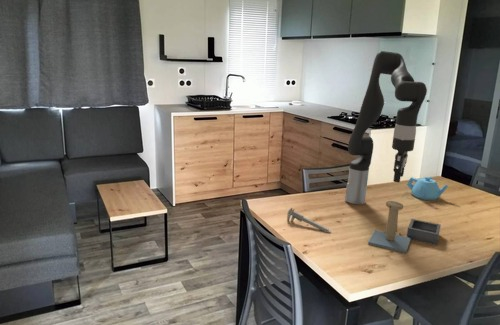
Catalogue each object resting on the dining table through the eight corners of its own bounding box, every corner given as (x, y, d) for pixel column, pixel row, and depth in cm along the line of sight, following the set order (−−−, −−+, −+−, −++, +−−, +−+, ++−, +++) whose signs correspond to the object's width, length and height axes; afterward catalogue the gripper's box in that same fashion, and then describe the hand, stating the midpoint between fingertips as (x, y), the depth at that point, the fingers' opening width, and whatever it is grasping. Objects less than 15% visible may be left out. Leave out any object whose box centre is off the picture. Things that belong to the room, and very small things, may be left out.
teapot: (429, 191, 224) (432, 172, 221) (447, 201, 210) (450, 181, 207) (404, 192, 221) (407, 173, 219) (420, 201, 207) (423, 181, 204)
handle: (392, 244, 156) (397, 207, 152) (379, 237, 161) (383, 202, 157) (400, 241, 159) (405, 205, 155) (387, 235, 164) (391, 200, 160)
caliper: (286, 221, 177) (287, 207, 176) (288, 220, 178) (289, 206, 176) (330, 233, 166) (331, 219, 164) (331, 233, 167) (332, 218, 165)
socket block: (406, 238, 164) (407, 228, 163) (410, 228, 174) (411, 218, 172) (437, 245, 159) (438, 234, 158) (439, 234, 169) (440, 224, 167)
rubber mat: (368, 244, 157) (368, 241, 157) (374, 232, 169) (375, 229, 168) (406, 253, 151) (406, 250, 151) (410, 240, 162) (410, 237, 162)
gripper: (396, 132, 157) (391, 172, 161) (390, 138, 145) (384, 182, 149) (417, 135, 153) (411, 176, 158) (412, 141, 141) (406, 185, 146)
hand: (398, 179), depth 153 cm, fingers open, 8 cm apart
